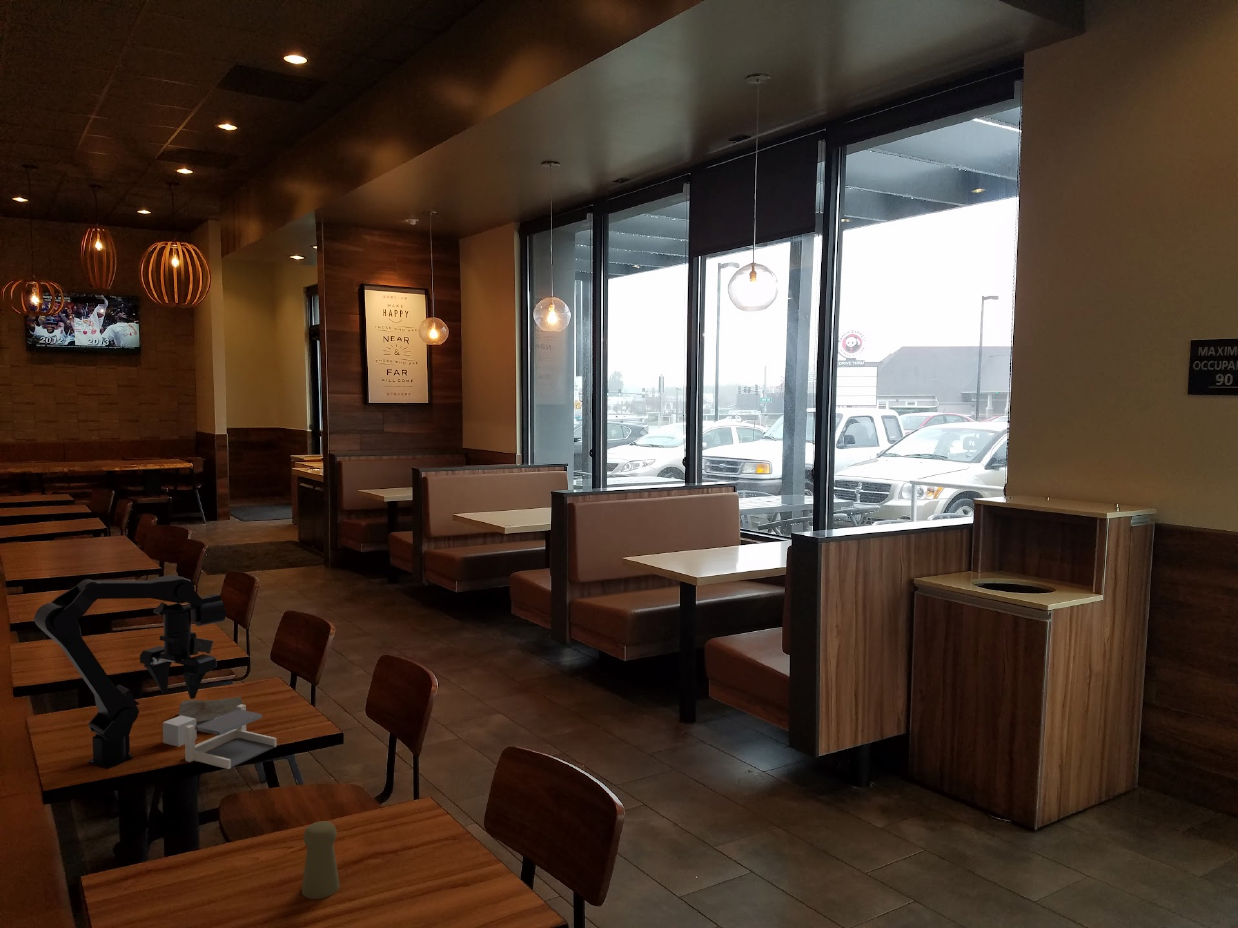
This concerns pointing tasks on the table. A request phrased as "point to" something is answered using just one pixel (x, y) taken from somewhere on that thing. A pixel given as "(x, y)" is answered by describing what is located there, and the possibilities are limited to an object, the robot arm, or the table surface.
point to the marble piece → (208, 708)
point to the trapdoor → (228, 722)
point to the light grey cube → (177, 730)
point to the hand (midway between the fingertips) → (178, 695)
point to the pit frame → (227, 746)
